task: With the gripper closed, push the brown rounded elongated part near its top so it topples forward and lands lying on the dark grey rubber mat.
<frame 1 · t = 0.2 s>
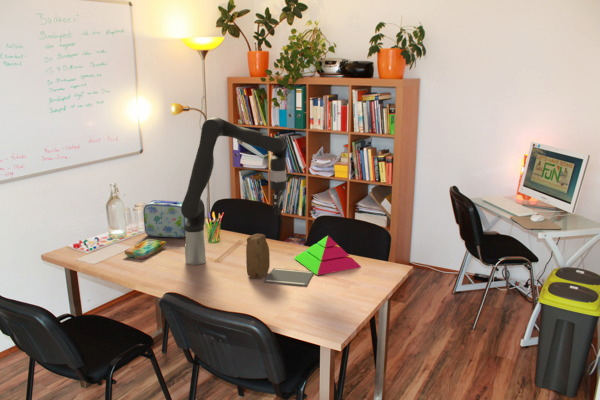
hand: (278, 212, 252), 29 cm above the table, fingers open, 8 cm apart
mat: (289, 277, 250), on the table
pyramid toy: (327, 262, 267), on the table, touching mat
lunch box: (168, 235, 310), on the table
brown rounded elongated part: (258, 275, 253), on the table
puzzle game: (146, 253, 284), on the table
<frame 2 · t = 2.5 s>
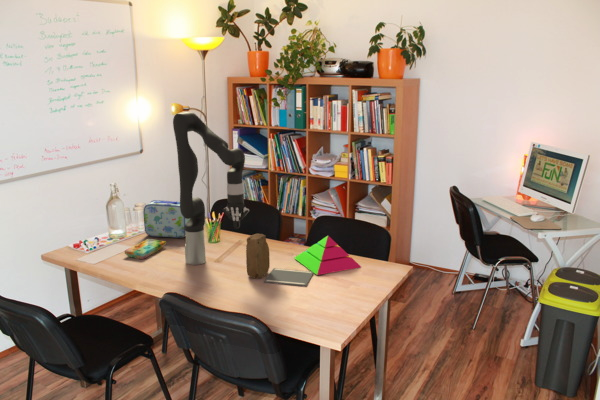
hand: (237, 227, 250), 23 cm above the table, fingers closed
nothing on the table moved.
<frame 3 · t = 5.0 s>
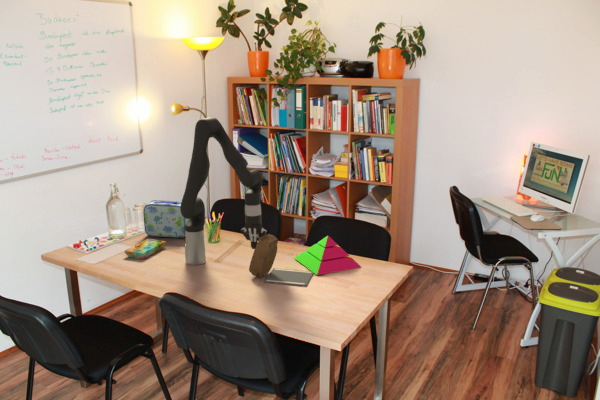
hand: (254, 248, 250), 13 cm above the table, fingers closed
brown rounded elongated part: (259, 272, 253), point 1 cm above the table
everything else where it was.
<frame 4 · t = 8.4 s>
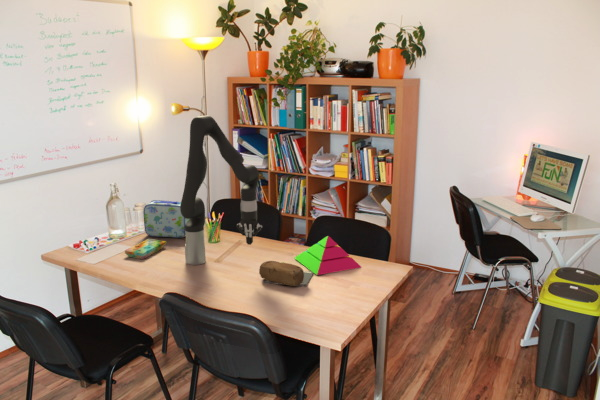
hand: (249, 244, 250), 15 cm above the table, fingers closed
brown rounded elongated part: (264, 268, 250), point 4 cm above the table, touching mat
everything else where it was.
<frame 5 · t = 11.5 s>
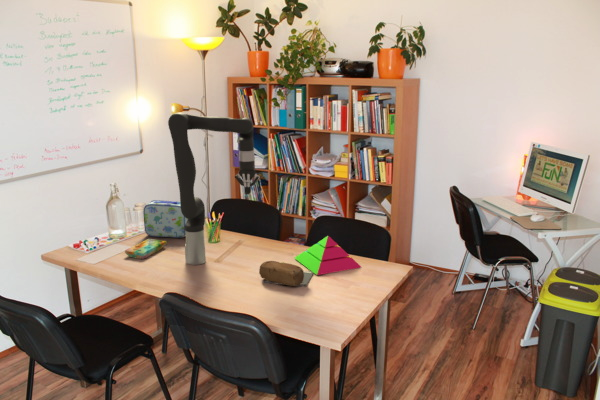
hand: (248, 194, 262), 35 cm above the table, fingers closed
nothing on the table moved.
at the end: brown rounded elongated part tilted 91°; brown rounded elongated part inside the target area (13.4 cm from its centre), point 4.3 cm above the table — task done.
